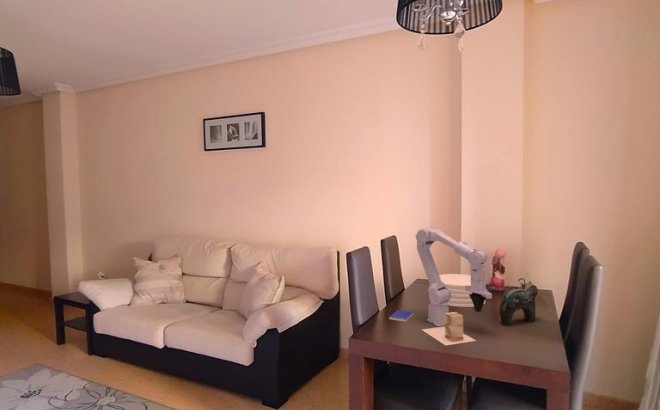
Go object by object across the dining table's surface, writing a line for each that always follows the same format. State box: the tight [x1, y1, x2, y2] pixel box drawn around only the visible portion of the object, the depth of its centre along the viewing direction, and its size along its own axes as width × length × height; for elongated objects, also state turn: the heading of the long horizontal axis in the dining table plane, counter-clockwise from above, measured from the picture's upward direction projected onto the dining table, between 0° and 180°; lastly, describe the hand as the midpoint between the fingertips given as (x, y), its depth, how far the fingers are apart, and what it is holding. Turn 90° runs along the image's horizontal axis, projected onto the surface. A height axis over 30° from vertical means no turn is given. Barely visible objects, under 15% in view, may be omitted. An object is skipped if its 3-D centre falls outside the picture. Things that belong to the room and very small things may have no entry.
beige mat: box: [422, 325, 477, 346], centre depth 157 cm, size 18×14×1 cm
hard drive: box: [388, 309, 414, 322], centre depth 183 cm, size 2×8×12 cm
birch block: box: [444, 311, 464, 342], centre depth 152 cm, size 5×5×10 cm
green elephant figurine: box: [499, 277, 538, 327], centre depth 171 cm, size 20×6×20 cm, turn 111°
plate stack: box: [439, 273, 487, 308], centre depth 210 cm, size 28×28×12 cm
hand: (478, 311), depth 159 cm, fingers closed
